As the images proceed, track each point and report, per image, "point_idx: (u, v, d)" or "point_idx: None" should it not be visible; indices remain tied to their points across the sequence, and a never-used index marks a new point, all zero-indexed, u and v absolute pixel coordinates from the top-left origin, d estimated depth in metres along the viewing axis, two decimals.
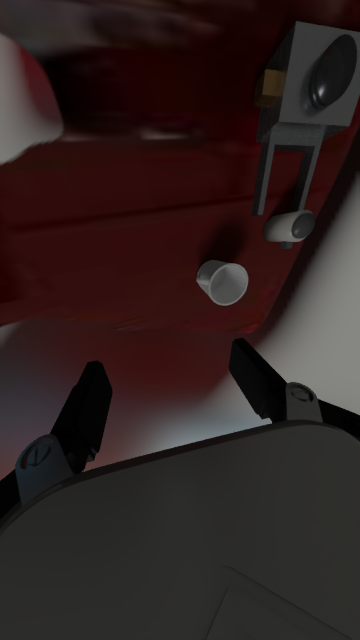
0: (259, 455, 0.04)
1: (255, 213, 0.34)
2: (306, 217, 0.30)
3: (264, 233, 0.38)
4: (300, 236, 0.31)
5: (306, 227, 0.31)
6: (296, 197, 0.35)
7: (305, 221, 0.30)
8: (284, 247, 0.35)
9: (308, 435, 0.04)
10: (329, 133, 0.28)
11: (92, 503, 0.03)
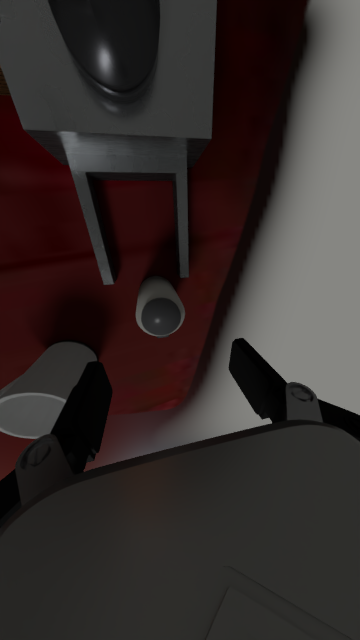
0: (259, 455, 0.04)
1: None
2: (158, 306, 0.16)
3: None
4: (161, 332, 0.18)
5: (166, 320, 0.17)
6: (177, 251, 0.21)
7: (159, 312, 0.16)
8: (156, 335, 0.21)
9: (308, 435, 0.04)
10: (189, 151, 0.15)
11: (92, 503, 0.03)
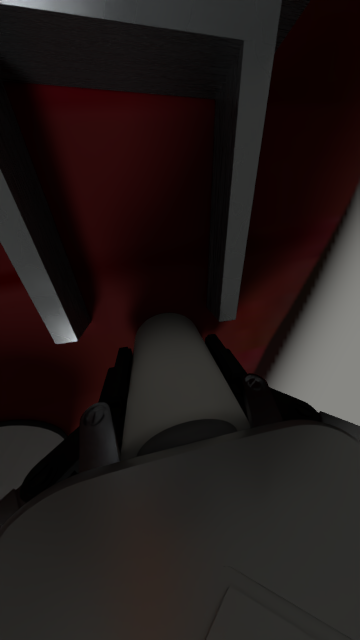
0: (259, 455, 0.04)
1: None
2: None
3: None
4: None
5: None
6: (213, 267, 0.10)
7: None
8: None
9: (308, 435, 0.04)
10: None
11: (92, 503, 0.03)
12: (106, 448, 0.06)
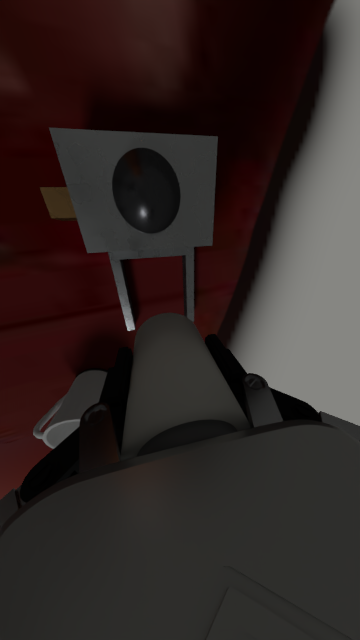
0: (259, 455, 0.04)
1: None
2: None
3: None
4: None
5: None
6: (184, 301, 0.26)
7: None
8: None
9: (308, 435, 0.04)
10: None
11: (92, 503, 0.03)
12: (106, 448, 0.06)
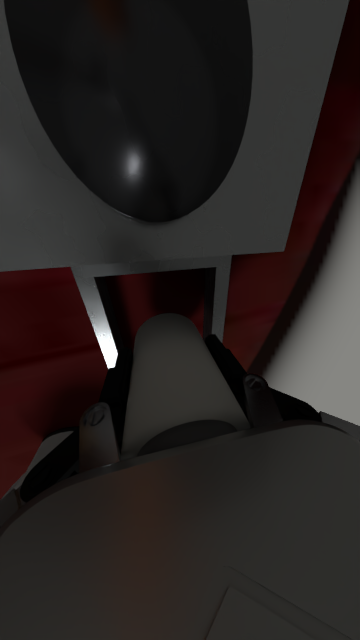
0: (258, 455, 0.04)
1: None
2: None
3: None
4: None
5: None
6: (205, 336, 0.17)
7: None
8: None
9: (308, 435, 0.04)
10: None
11: (92, 503, 0.03)
12: (106, 448, 0.06)
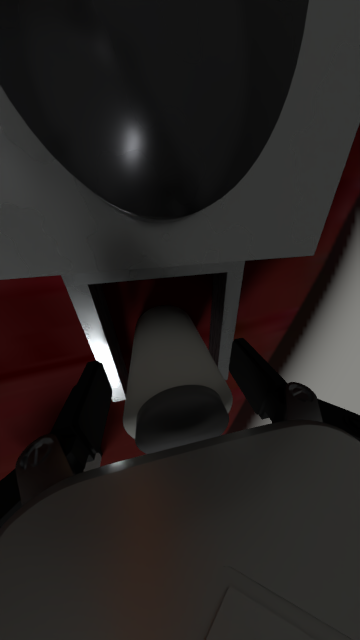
0: (259, 455, 0.04)
1: None
2: (179, 414, 0.06)
3: None
4: None
5: (195, 432, 0.07)
6: (212, 346, 0.15)
7: (181, 422, 0.07)
8: None
9: (308, 435, 0.04)
10: None
11: (92, 503, 0.03)
12: (59, 481, 0.05)
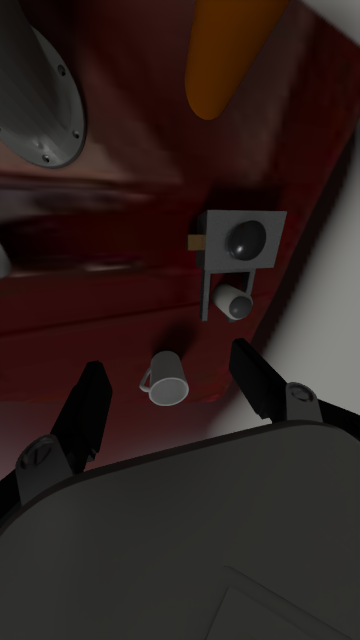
0: (259, 455, 0.04)
1: (201, 318, 0.37)
2: (241, 301, 0.28)
3: (212, 300, 0.36)
4: (238, 316, 0.30)
5: (243, 309, 0.29)
6: None
7: (241, 304, 0.29)
8: (228, 320, 0.33)
9: (308, 435, 0.04)
10: None
11: (92, 503, 0.03)
12: (59, 481, 0.05)
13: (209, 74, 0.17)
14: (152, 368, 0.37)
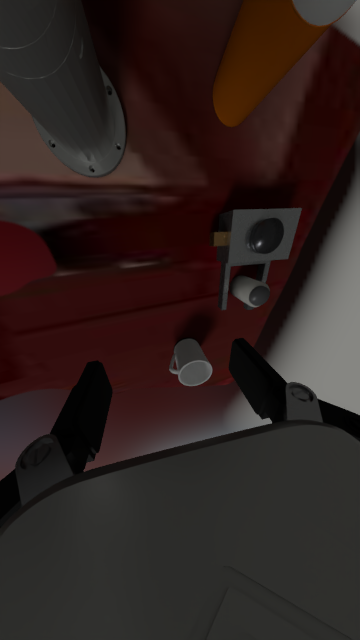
0: (259, 455, 0.04)
1: (220, 307, 0.41)
2: (261, 290, 0.32)
3: (230, 290, 0.40)
4: (257, 304, 0.34)
5: (262, 297, 0.33)
6: None
7: (260, 293, 0.33)
8: (246, 308, 0.37)
9: (308, 435, 0.04)
10: None
11: (92, 503, 0.03)
12: (59, 481, 0.05)
13: (241, 92, 0.20)
14: (177, 354, 0.42)
